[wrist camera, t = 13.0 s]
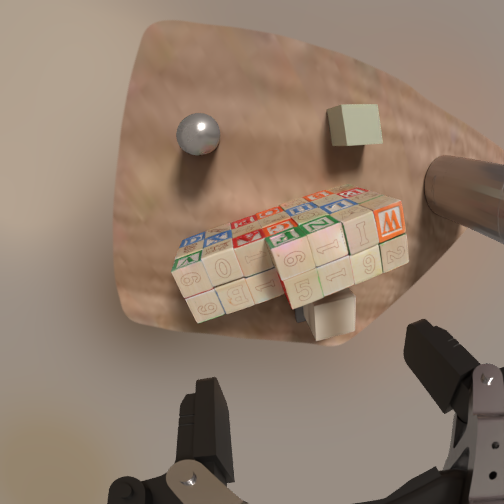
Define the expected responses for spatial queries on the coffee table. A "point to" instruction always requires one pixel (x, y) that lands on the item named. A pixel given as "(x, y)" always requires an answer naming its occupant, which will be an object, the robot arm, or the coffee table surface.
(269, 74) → the coffee table surface
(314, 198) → the stack of blocks
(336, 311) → the cream block
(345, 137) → the sage green block
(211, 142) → the grey capsule
